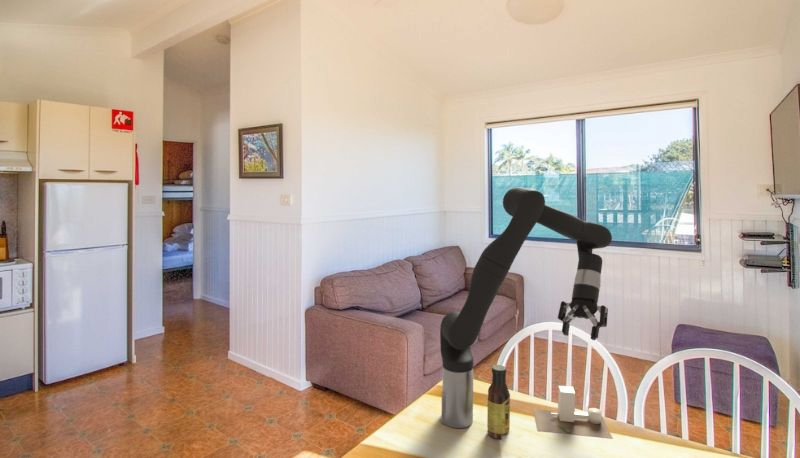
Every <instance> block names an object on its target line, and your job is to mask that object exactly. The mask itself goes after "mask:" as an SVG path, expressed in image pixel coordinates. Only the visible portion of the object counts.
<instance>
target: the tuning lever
mask: <svg viewBox="0 0 800 458" xmlns="http://www.w3.org/2000/svg"><path fill="white" fill-rule="evenodd" d="M557 396H558V399H557V411H558V413H551V415H558V416H559V420H560V421H567V422H574V418H578V419H588V421H589V422H591V423H593V424H600V423H601V415H602V411H601V409H599V408H595V407H589V408H588V409H587V412H582V411H576V410H575V409H576V391H575V389H574V386H569V385H568V386H567V385H558V395H557Z"/></svg>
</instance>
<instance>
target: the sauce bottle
mask: <svg viewBox="0 0 800 458" xmlns="http://www.w3.org/2000/svg"><path fill="white" fill-rule="evenodd" d="M491 373H492V378H491V381H492V382H491V384H490V385H489V387H488V389H487V419H486V420H487V422H486V423H487V434H488V435H489V436H490V437H492V438H493V439H496V440H502V438H503V437H502V436H506V435H508V433H509V432H510V425H511V424H510V423H511V421H510V420H511V419H510V418H511V416H510V415H511V394H510V391H509V388H508V385H507V375H506V374H507V367H506V366H505V365H502V364H501V365H500V364H494V365H492V366H491Z"/></svg>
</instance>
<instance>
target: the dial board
mask: <svg viewBox="0 0 800 458" xmlns="http://www.w3.org/2000/svg"><path fill="white" fill-rule="evenodd" d="M532 411H533V414H534V419H535V420H534V421H535V425H536V430H537V432H542V433H543V432H545V433H554V434H564V435H572V436H573V435H574V436H582V437H583V436H584V437H593V438H603V439H604V438H605V439H610V440H611V439H613V436H612V434H611V432H610V429H609V428H608V425H607V424H606V421H605V420H604V417H603V415H602V414H601V423H600V424H593V423H591V422H589V421H588V419H578V418H574V422H567V421H560V420H559V416H558V415H551V413H558V410H550V409H548V410H546V409H540V408H539V409H538V408H537V409H536V408H533V410H532Z"/></svg>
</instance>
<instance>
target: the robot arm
mask: <svg viewBox="0 0 800 458" xmlns="http://www.w3.org/2000/svg"><path fill="white" fill-rule="evenodd" d="M502 207H503V209H504V211H505V212H506V214H508V215H509V216H511V219H510V221H509V223H508V225H507V226H506V228H505V229H504V230H503V232H501V234H500V235H499V236H498V237H496V238H495V239H494V240H493V241H492V242H490V244H488V245H487V246H486V247H485V248H484V249H483V250H482V253H481V254H480V256H479V258H478V260H477V261H476V264H475V266H474V269H473V270H472V273H471V277H470V283H469V288H468V295H467V298H466V300H465V303H464V305H463V306H462V308H461V310H460V311H455V310H454V311H450V312H448V313H447V314H445V315H444V317H443V318H442V320H441V323H440V326H439V327H440V331H439V333H440V334H439V340H440V354H441V360H442V390H441V424H442V425H443V424H444V425H446V426H448V427H450V428H455V429H465V428H467V427H468V428H469V426H471V425H472V424H473V423H474V421H473V420H474V356H473V354H472V351H471V346H472V345H474V344H475V343H476V340H477V339H478V337H479V335H480V332H481V328H482V327H483V324H484V322H485V318H486V317H487V314H488V311H489V310H490V308H491V306H492V304H493V302H494V300H495V297H496V296H497V294H498V292H499V289H501V286H502V284H503V283H504V281H505V279H506V277H507V276H508V275H507V274H509V272H510V269H511V266H512V264H513V263H514V261H515V259H516V257H517V255H518V254H519V252H520V250H521V248H522V247H523V244H524V243H525V241H526V239H527V238H528V236H529V235H530V233H531V231H532V230H533V229H534V227H535V225H536V224H539V225H541V226H543V227H545V228H547V229H550V230H551V231H553V232H556V233H557V234H559V235H561V236H563V237H566V238H568V239H570V240H573V241H576V248H577V256H578V260H577V261H578V263H577V267H576V274H575V276H574V282H573V283H574V284H573V289H572V295H571V302H565V301H561V302H560V305H559V309H558V314H557V319H558V320H559V321H561V322H562V328H561V332H562V335H563V336H565V337H567V336H569V334H570V333H569V332H570V326H571V322H572V321H574V320H575V319H577V318H578V319H586V320H588V319H589V321H590V322H591V324H592V325H593V326H591V331H590V340H592V341H596V340H597V339H598V338H599V333H600V329H601V328H603V327H604V328H606V327H607V325H608V314H609V313H608V311H609V308H608V307H606V305H603V304H602V305H598V302H599V296H600V290H601V277H602V276H601V275H602V269H603V258H602V257H601V255H599V254H596V253H594V252H593V250H595V249H597V250H598V249H603V248H606V247H608V246H610V244H611V243H612V240H613V236H612V232H611V231H610V230H609V229H608V228H607V227H606V226H605V225H604V224H603V225H602V224H599V223H596V222H591V221H586V220H582V219H581V218H579V217H578V216H575V215H574V214H571V213H569V212H566V211H564V210H561V209H557V208H555V207H552V206H550V205H547V204H546V199H545V196H544V194H543V193H542V192H541V191H539V190H537V189H532V188H527V187H520V186H519V187H518V186H517V187H513V188H510V189H508V191H506V193H505V194H504V196H503V198H502ZM569 308H570V310H569ZM567 310H569V311H567ZM567 312H568V313H567ZM597 312H598V313H600V314H599V321H598V319H597V317H596V315H595V314H596V313H597Z"/></svg>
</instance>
